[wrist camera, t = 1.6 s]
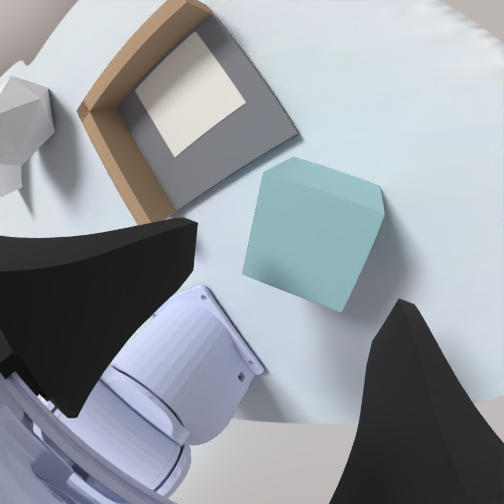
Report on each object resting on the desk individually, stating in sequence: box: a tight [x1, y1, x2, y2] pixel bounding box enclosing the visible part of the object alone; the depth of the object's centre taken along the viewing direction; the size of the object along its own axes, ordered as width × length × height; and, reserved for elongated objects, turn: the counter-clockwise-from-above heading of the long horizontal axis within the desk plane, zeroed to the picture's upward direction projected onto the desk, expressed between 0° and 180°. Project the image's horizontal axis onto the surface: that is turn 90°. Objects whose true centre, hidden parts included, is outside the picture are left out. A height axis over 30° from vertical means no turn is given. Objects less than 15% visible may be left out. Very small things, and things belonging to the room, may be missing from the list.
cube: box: [242, 157, 385, 313], centre depth 14 cm, size 5×5×5 cm
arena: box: [77, 0, 299, 225], centre depth 15 cm, size 10×11×3 cm
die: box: [0, 76, 55, 166], centre depth 18 cm, size 8×9×10 cm
